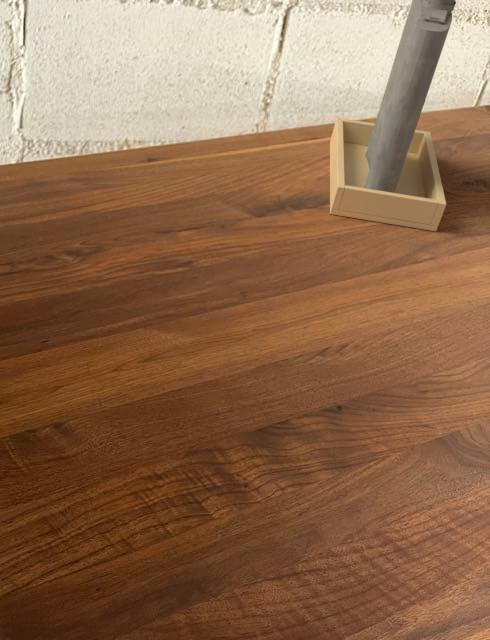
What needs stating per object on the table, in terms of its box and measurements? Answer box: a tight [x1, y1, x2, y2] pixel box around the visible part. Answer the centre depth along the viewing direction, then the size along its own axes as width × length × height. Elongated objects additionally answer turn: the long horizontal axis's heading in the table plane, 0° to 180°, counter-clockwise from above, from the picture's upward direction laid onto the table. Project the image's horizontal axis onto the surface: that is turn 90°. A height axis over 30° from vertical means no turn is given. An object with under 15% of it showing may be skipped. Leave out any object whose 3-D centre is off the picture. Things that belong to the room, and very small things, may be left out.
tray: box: [329, 117, 447, 232], centre depth 103 cm, size 12×22×3 cm, turn 169°
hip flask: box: [364, 0, 457, 193], centre depth 97 cm, size 16×4×20 cm, turn 165°
